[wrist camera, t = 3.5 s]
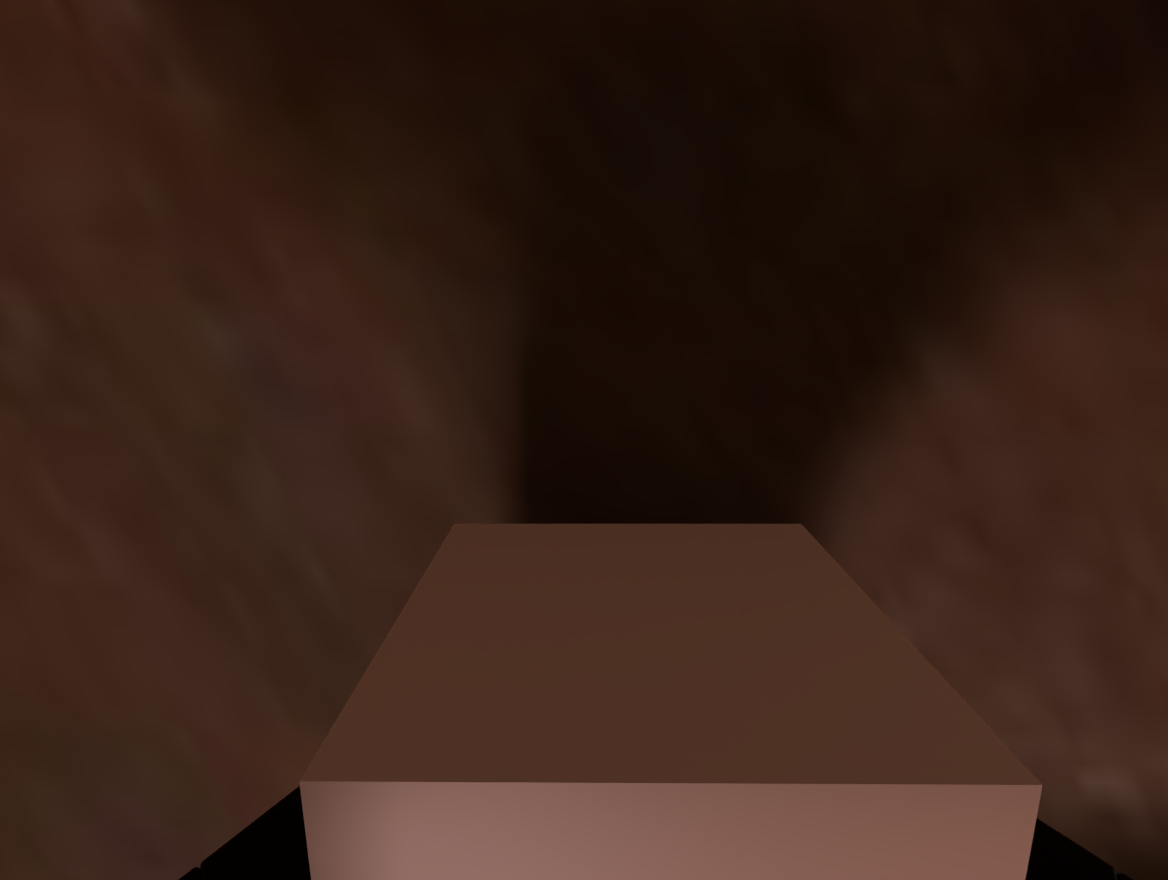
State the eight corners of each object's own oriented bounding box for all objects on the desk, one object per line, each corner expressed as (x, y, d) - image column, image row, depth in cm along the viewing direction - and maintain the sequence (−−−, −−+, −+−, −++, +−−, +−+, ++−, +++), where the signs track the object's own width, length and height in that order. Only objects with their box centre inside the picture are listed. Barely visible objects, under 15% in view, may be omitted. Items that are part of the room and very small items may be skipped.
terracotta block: (779, 817, 10) (950, 1292, 5) (469, 815, 10) (360, 1283, 5) (800, 524, 9) (1043, 785, 4) (454, 524, 9) (299, 782, 4)
